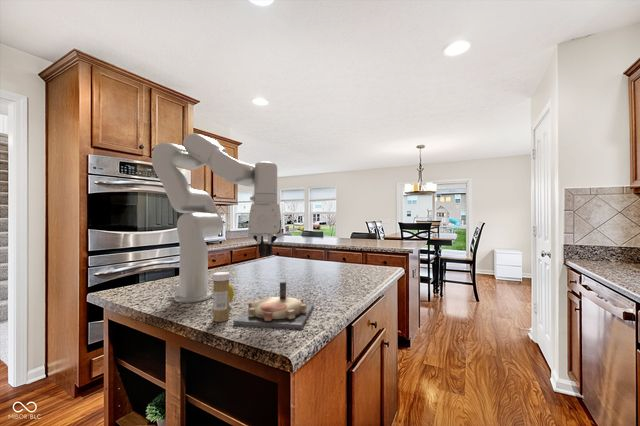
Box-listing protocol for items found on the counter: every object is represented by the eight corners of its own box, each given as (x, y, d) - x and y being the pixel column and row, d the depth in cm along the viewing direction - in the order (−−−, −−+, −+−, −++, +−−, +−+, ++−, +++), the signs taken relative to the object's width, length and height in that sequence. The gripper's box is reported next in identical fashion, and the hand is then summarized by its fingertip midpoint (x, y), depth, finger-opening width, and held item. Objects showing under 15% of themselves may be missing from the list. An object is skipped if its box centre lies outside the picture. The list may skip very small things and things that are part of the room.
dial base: (233, 325, 76) (233, 320, 76) (258, 304, 95) (258, 300, 95) (301, 329, 73) (301, 324, 73) (313, 307, 92) (313, 303, 92)
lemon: (225, 309, 89) (225, 284, 89) (212, 307, 91) (212, 283, 91) (237, 304, 94) (237, 281, 94) (224, 302, 96) (224, 279, 97)
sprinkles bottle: (231, 316, 82) (231, 271, 83) (226, 322, 78) (226, 274, 78) (216, 316, 82) (216, 271, 83) (209, 322, 78) (210, 274, 78)
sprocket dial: (236, 318, 76) (237, 293, 77) (260, 300, 94) (260, 279, 94) (299, 322, 74) (299, 296, 74) (311, 303, 91) (311, 281, 91)
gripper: (238, 199, 89) (237, 256, 88) (285, 198, 87) (285, 258, 86) (247, 201, 96) (247, 254, 96) (291, 200, 94) (291, 255, 94)
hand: (265, 255), depth 91 cm, fingers closed
